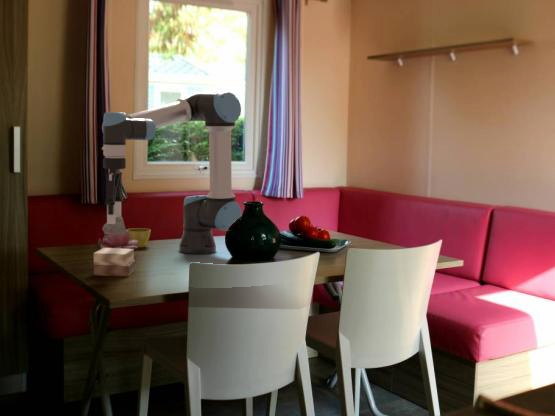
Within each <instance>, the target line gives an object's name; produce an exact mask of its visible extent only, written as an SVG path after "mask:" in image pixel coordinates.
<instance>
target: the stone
mask: <svg viewBox="0 0 555 416" xmlns="http://www.w3.org/2000/svg"><path fill="white" fill-rule="evenodd" d="M126 230H127V229H126V225H125V221H124V218H123V216H122V215H121V217H116V224H107V222H105V224H103V226H102V231H103V234H104V235H109V234H110V235H116V234H121V235H124V234H125V233H126Z"/></svg>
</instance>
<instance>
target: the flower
mask: <svg viewBox="0 0 555 416" xmlns="http://www.w3.org/2000/svg"><path fill="white" fill-rule="evenodd" d="M130 237H131V236H130V232H126V233H125V234H124V235H121V234H116V235H115V234H114V235H110V234H104V236H103V238H102V239H101V238H99V239H98V240H97V245H98V246H99V248H100V249H102V248H122V249H134V251H135V250H136V249H138V246H135V245H136V244H137V243H138V240H132V241H129V240H130Z"/></svg>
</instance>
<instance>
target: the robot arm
mask: <svg viewBox="0 0 555 416" xmlns="http://www.w3.org/2000/svg"><path fill="white" fill-rule="evenodd" d="M241 114H242V106H241V103H240V101H239V99H238V97H237V96H236V95H235V94H234V93H233V92H229V91H223V90H221V91H202V92H197V93H194V94H191V95H188V96H185V97H180V98H178V99H177V100H176V101H175V102H171V103H168V104H165V105H159V106H157V107H153V108H149V109H146V110H141V111H138V112H134V113H133V112H132V113H130V114H126V112H124V111H123V112H121V111H120V112H119V111H106V112H104V114H103V121H102V125H101V129H102V130H101V131H102V134H103V135H102V137H103V141H102V142H103V143H102V145H103V146H102V147H101V150H102V151H103V152H102V153H103V156H104V157H103V159H102V163H103V165H102V168H103V169H106V170H109V171H108V174H106V191H105V202H104V205H106V223H107V224H116V217H121V216H122V202H124V201H125V198H123V184H122V183H123V181H122V178H123V177H122V175H123V173H122V172H121V171H120V170H124V169H126V168H127V167H126V161H127V160H126V158H125V157H127V143H126V141H149V140H152V139H154V137H155V135H156V132H157V131H156V130H157V128H161V127H165V126H168V125H172V124H176V123H180V122H181V123H190V122H204V127H205V129H207V131H208V133H209V134H208V138H209V140H208V142H209V143H208V144H209V145H208V147H209V149H208V150H209V151H208V152H209V160H208V161H209V162H208V163H209V192H208V193H207V194H202V195H190V196H185V198H184V200H183V233H182V235H181V238H180V242H179V245H178V252H180V253H184V254H191V255H192V254H193V255H203V254H213V253H215V252H217V245H216V242H215V237H214V235H213V229H214V230H219V231H229V230H228V229H229V227H230V226H231V225H232V224H233V223H234V221H236V220H237V219H238V218H239V217H240V216H241V217H242V214H243V213H242V212H243V211H242V208H241V206H240V204H239V203H237V202H236V194H234V192H232V189H233V187H232V185H233V184H232V130H233V129H234V128H236V122H237V121H238V120H239V119H240V117H241Z"/></svg>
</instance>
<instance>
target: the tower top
mask: <svg viewBox="0 0 555 416" xmlns="http://www.w3.org/2000/svg"><path fill="white" fill-rule="evenodd" d="M133 260H135V250H134V249H122V248H102V249H101V248H100V249H99V250H97V251H95V252H93V266H94V265H114V266H126V265H127V264H129V263H130V262H132V261H133Z"/></svg>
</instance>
